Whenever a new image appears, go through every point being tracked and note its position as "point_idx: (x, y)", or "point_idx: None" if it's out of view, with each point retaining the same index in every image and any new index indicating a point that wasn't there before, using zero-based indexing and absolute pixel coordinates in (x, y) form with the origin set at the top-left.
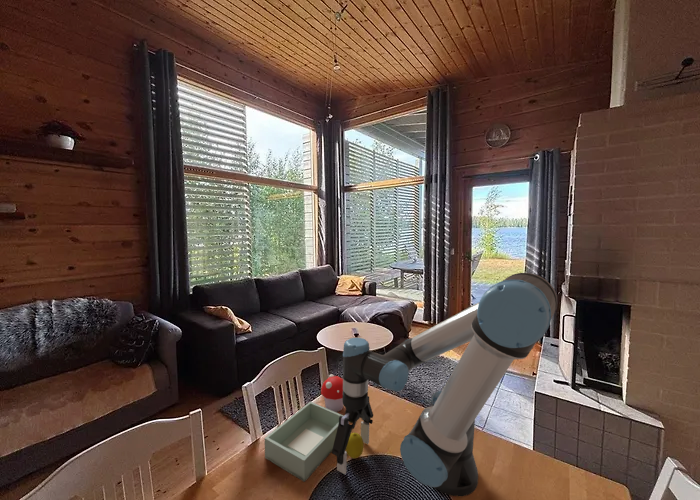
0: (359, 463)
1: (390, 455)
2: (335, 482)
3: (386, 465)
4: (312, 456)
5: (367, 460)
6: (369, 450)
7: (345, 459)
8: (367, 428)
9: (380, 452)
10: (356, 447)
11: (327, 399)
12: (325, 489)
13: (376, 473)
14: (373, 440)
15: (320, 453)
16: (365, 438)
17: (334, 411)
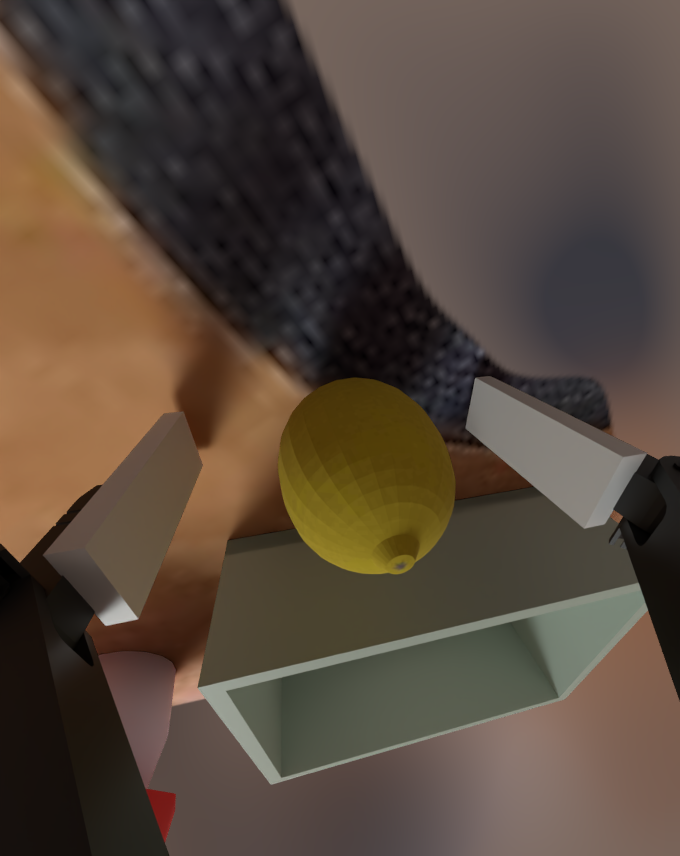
0: (360, 358)
1: (85, 154)
2: (533, 386)
3: (232, 126)
4: (592, 561)
5: (303, 327)
6: (213, 370)
7: (574, 420)
8: (118, 516)
9: (151, 279)
10: (436, 431)
11: (156, 758)
12: (580, 397)
13: (370, 180)
14: (102, 404)
15: (497, 545)
16: (177, 452)
17: (152, 658)
